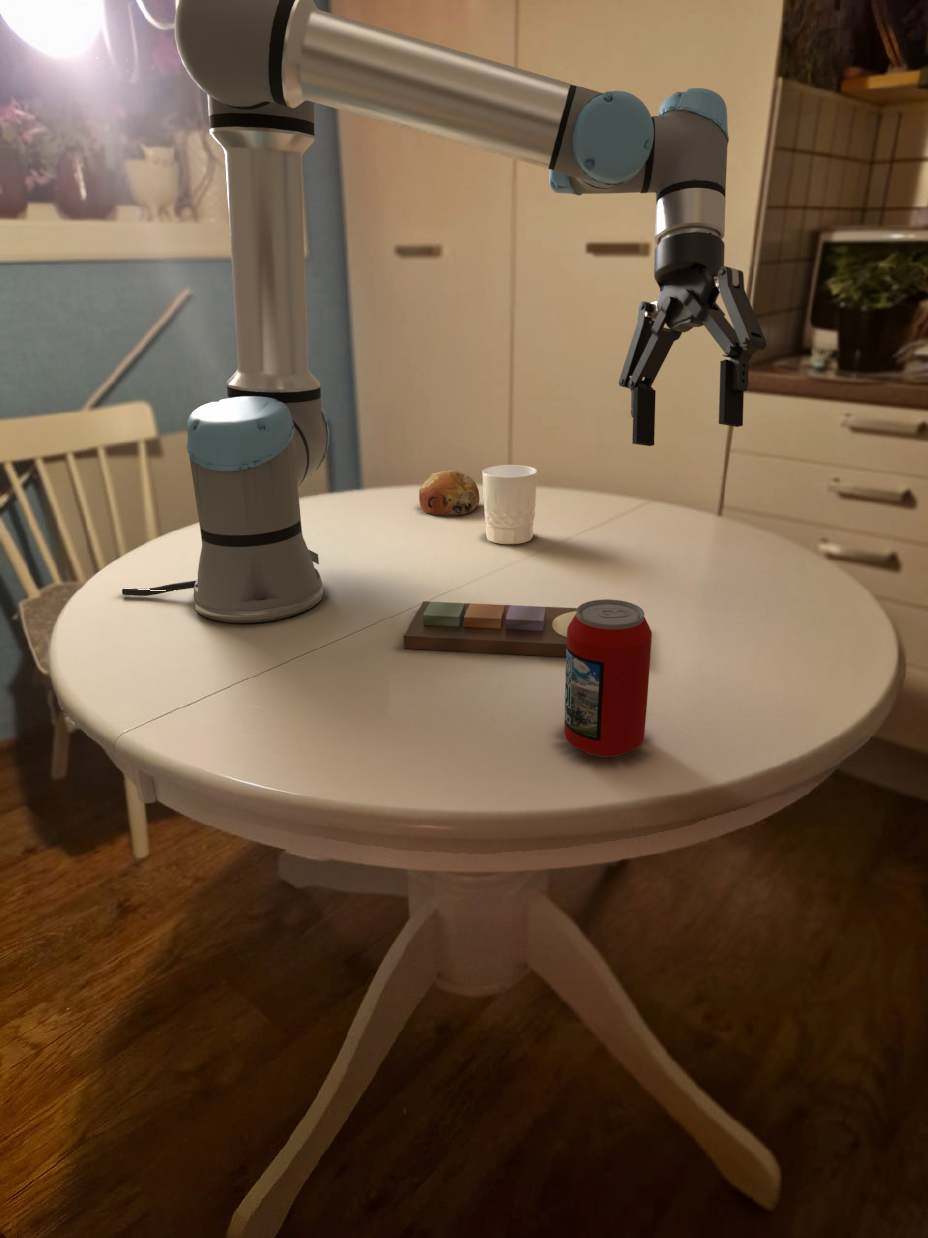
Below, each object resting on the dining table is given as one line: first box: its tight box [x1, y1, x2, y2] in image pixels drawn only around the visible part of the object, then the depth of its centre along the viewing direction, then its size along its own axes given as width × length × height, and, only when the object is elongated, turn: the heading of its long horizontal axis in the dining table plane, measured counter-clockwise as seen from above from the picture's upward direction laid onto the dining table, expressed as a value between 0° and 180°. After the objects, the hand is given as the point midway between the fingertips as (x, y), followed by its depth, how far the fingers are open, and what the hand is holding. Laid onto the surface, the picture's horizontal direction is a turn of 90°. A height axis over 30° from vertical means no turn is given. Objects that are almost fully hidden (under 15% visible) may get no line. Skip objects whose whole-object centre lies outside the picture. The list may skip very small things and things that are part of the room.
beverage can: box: [563, 598, 653, 758], centre depth 71 cm, size 7×7×12 cm
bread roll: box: [418, 469, 481, 517], centre depth 142 cm, size 10×10×8 cm
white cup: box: [481, 464, 538, 545], centre depth 125 cm, size 8×8×10 cm
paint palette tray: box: [403, 600, 578, 658], centre depth 94 cm, size 24×10×3 cm, turn 81°
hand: (684, 435), depth 96 cm, fingers open, 13 cm apart
